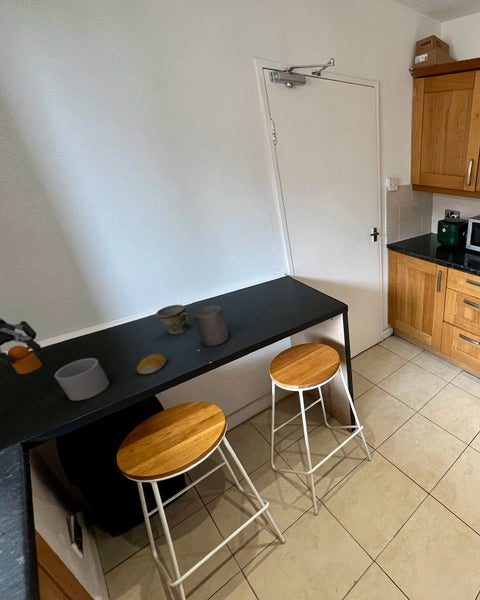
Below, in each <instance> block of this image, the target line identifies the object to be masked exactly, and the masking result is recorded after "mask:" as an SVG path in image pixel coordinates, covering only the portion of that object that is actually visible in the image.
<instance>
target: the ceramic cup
mask: <svg viewBox="0 0 480 600" xmlns="http://www.w3.org/2000/svg"><path fill="white" fill-rule="evenodd" d="M186 315H187V317H186ZM156 316H157V318H158V319H159V321H160V322H161V323H162V324H163V326H164V327H165V329H166V331H167V332H168V333H169V334H170V335H178V334H182V333H184V332H185V331H187V330H188V325H187V321H188V320H189V319H190V318H191V315H190V313H189V312H187V311H186V307H185V306H184V305H183V304H171V305H167V306H165V307H162V308H160V309H159V310H157V312H156Z"/></svg>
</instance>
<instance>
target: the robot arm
mask: <svg viewBox="0 0 480 600" xmlns="http://www.w3.org/2000/svg"><path fill="white" fill-rule="evenodd" d="M16 330H19V331H22V332H23V333H24V334H23V333H21V332H18V331H16ZM37 335H38V334H37V332H36V331H35V330H34V328H33V327H31V326H30V324H29V323H28V322H27V321H25V320H22V321H20V323H16V324H11V323H8V322H6V321H5V320H4V319H3V318H2V317H0V361H1V362H2V363H4V364H5V365H9V364H10V365H11V366H12V364H14V363H15V359H13V358H12V357H10V356H9V355H8V353H6V352H5V351H2V348H1V346H3V345H4V344H6V343H10V342H15V343H22V344H25V345H26V347H28V346H32V349H31V350H32V351H34V353H39V352H41V348H42V346H41V345H40V344H39V343H38V342H36V341H35V339H36V338H37Z"/></svg>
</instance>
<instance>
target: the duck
mask: <svg viewBox="0 0 480 600" xmlns="http://www.w3.org/2000/svg"><path fill="white" fill-rule="evenodd" d="M29 350H32V346H24V345H14V346H12V347H10V348H9V349H8V350H7V354H8V355H9V356H10V357H12V358H13V359H15V363H14V364H12V365H11V366H12V367H13V369H14V370H15V371H16V373H17V374H20V375H23V374H28V373H31V372H34V371H36V370H38V369H39V368H41V367H42V365H43V364H42V362H41V361H40V360H39V358H38V356H37V355H36V354H35V351H34V352H33V351H29Z"/></svg>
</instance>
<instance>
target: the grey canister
mask: <svg viewBox="0 0 480 600" xmlns="http://www.w3.org/2000/svg"><path fill="white" fill-rule="evenodd" d="M192 315H193V318H194V321H195V324H196V327H197V331H198V333H199V337H200V339H201V343H202V344H203V345H204V346H206V347H214V346H219V345H221V344H223V343H225V342H226V341H227V340H228V339H229V335H230V334H229V331H228V328H227V325H226V322H225V319H224V316H223V315H224V314H223V312H222V309H221V306H219V305H215V304H213V305H212V304H211V305H205V306H202V307H199V308H197V309H195V311H193V313H192Z"/></svg>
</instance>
